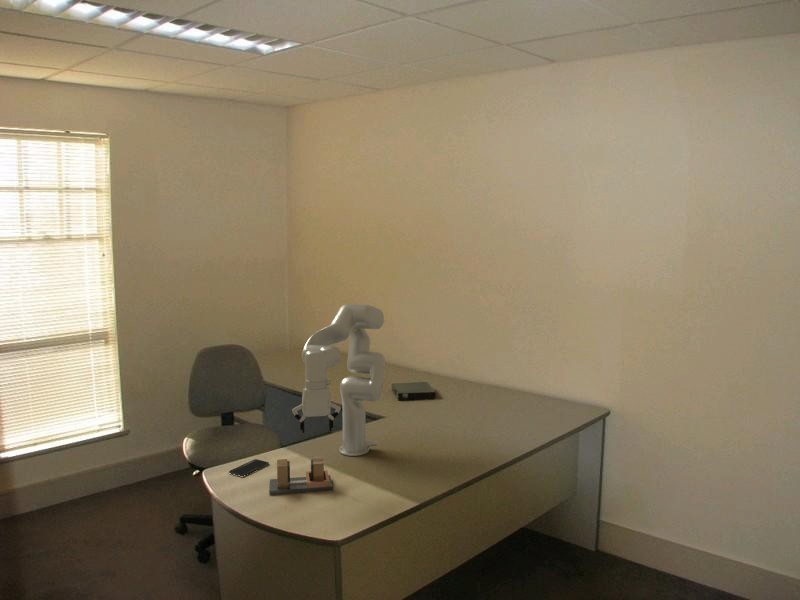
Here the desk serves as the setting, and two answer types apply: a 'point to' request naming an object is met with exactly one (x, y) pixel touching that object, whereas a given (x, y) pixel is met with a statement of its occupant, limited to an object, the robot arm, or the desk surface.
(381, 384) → the robot arm
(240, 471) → the phone
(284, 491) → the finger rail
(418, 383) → the network switch
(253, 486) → the desk surface
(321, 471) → the small cardboard box
